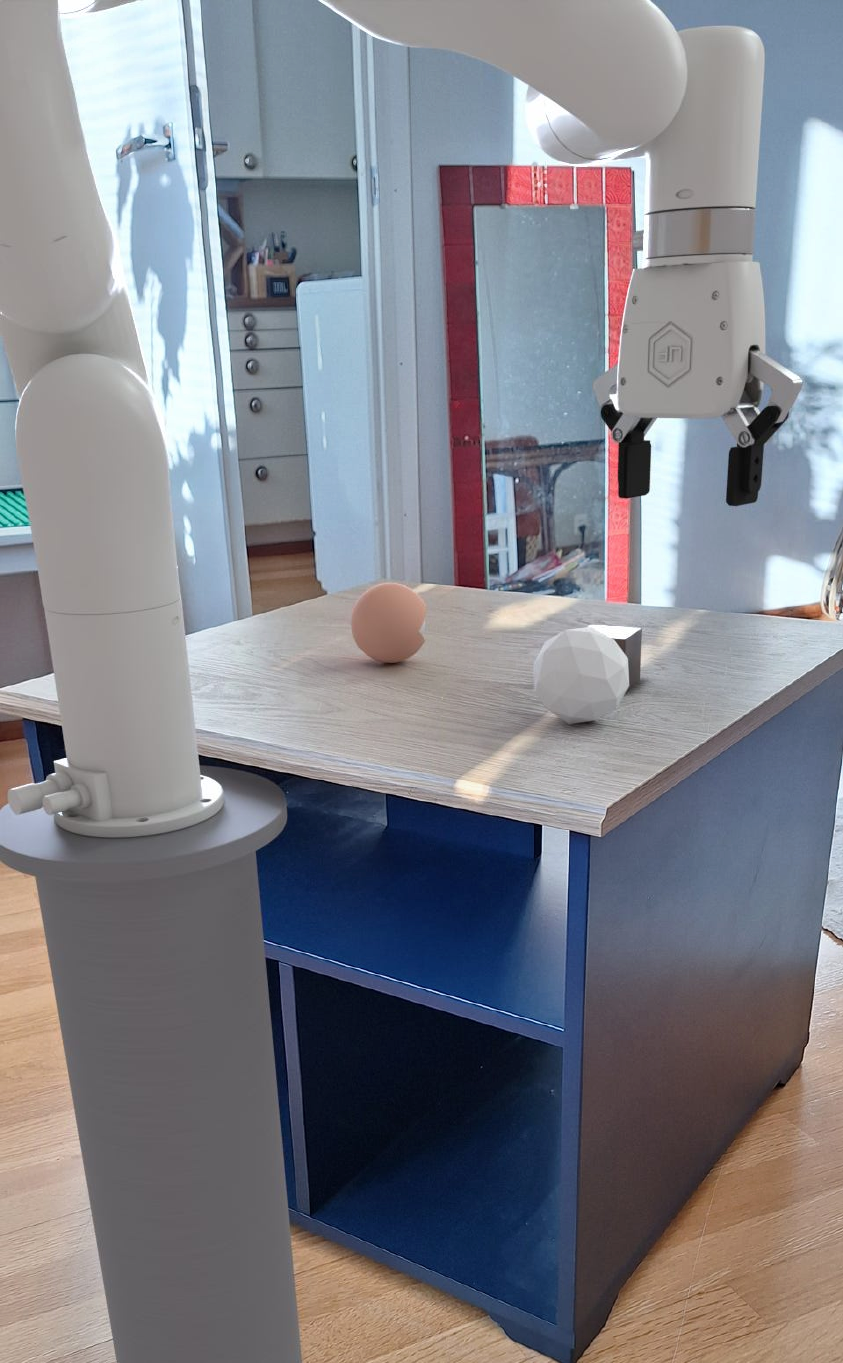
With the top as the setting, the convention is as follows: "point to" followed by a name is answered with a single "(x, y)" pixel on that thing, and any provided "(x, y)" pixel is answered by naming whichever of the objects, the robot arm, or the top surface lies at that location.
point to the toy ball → (389, 622)
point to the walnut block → (627, 647)
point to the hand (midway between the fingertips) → (686, 499)
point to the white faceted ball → (581, 675)
